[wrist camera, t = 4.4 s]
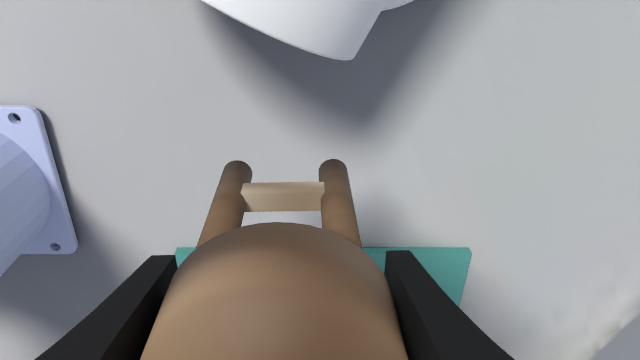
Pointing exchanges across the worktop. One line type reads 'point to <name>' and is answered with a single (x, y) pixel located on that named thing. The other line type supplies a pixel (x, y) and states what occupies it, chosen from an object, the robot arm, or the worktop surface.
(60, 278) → the worktop surface
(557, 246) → the worktop surface
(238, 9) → the mug
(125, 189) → the worktop surface
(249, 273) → the walnut stool
